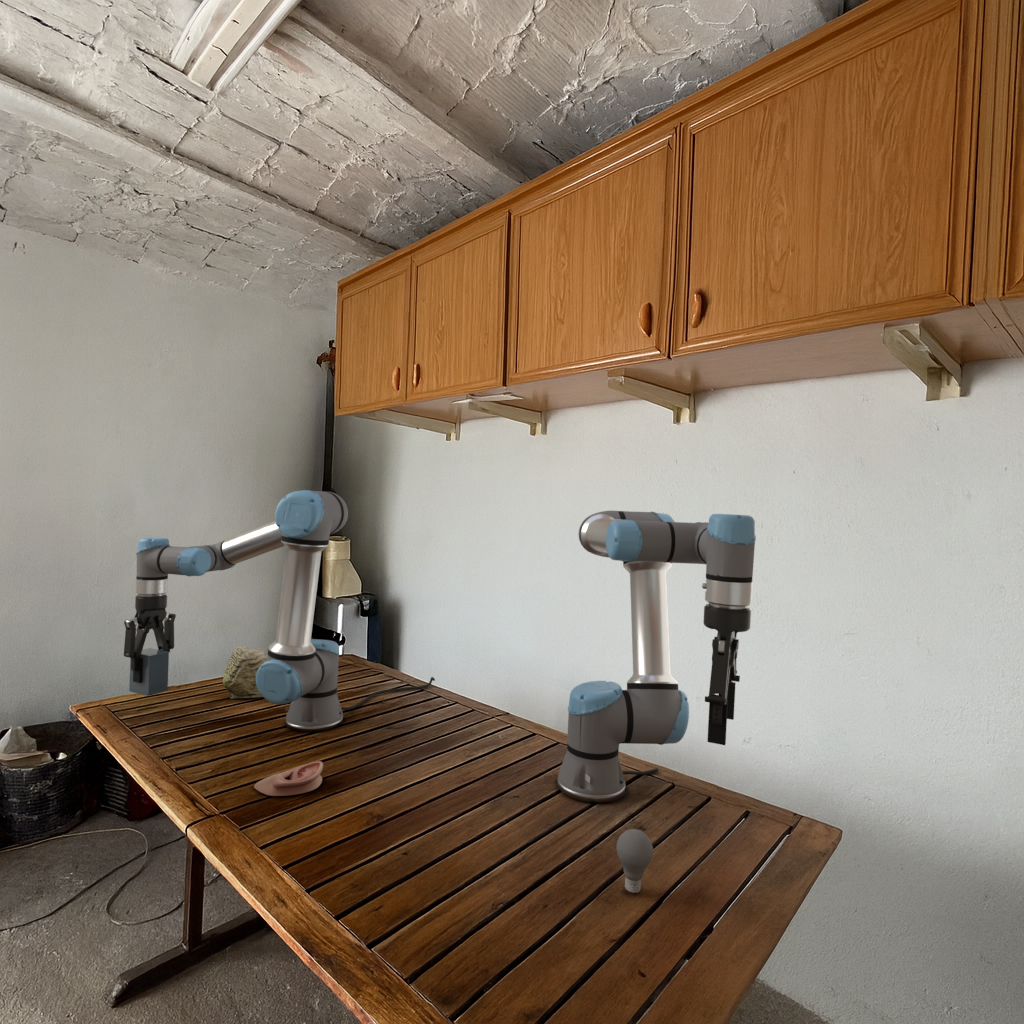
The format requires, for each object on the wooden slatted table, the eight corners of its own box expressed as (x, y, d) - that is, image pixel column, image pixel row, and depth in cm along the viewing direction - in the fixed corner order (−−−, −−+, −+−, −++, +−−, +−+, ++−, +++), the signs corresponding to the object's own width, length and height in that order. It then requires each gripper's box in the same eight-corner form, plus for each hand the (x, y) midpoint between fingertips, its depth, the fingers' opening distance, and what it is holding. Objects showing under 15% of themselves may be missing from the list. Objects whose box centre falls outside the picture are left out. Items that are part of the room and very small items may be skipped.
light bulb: (610, 879, 108) (613, 822, 108) (644, 879, 109) (647, 822, 109) (619, 902, 102) (622, 840, 102) (655, 901, 103) (658, 840, 103)
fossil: (218, 695, 195) (220, 647, 195) (278, 685, 208) (279, 640, 207) (228, 703, 189) (230, 653, 188) (289, 692, 201) (290, 645, 201)
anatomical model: (246, 773, 134) (276, 753, 145) (245, 792, 134) (276, 770, 145) (303, 782, 131) (330, 760, 142) (302, 801, 131) (329, 777, 142)
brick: (148, 686, 177) (149, 647, 177) (167, 690, 174) (169, 651, 173) (129, 691, 172) (130, 652, 171) (148, 696, 168) (149, 656, 168)
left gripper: (173, 589, 182) (170, 669, 183) (108, 597, 165) (105, 685, 166) (191, 591, 179) (188, 673, 180) (127, 600, 162) (124, 690, 162)
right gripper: (713, 594, 120) (708, 705, 120) (693, 613, 97) (686, 750, 98) (755, 598, 117) (750, 712, 117) (745, 619, 94) (738, 760, 95)
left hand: (148, 678), depth 173 cm, fingers closed on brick, 6 cm apart
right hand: (721, 729), depth 107 cm, fingers open, 13 cm apart
